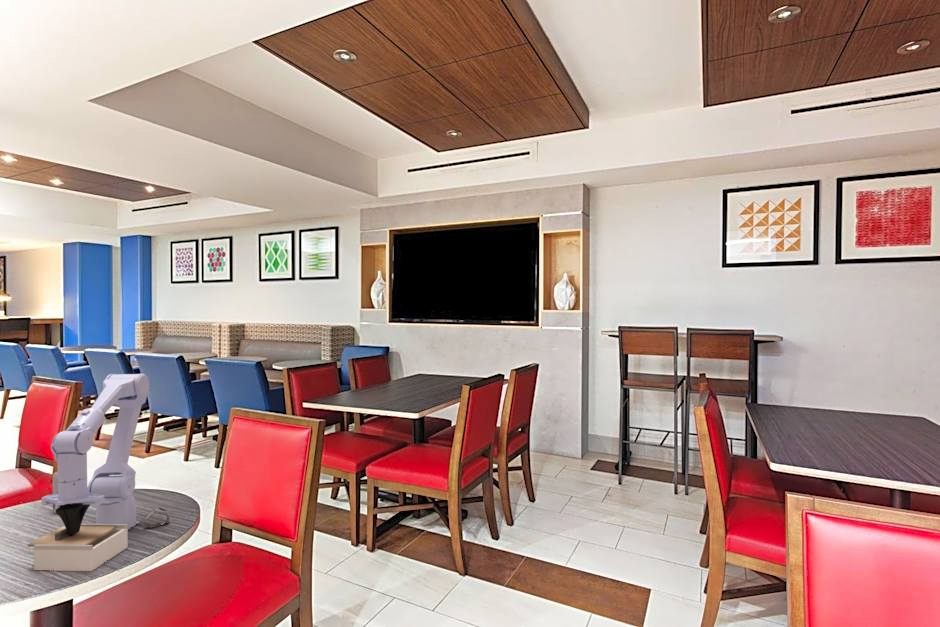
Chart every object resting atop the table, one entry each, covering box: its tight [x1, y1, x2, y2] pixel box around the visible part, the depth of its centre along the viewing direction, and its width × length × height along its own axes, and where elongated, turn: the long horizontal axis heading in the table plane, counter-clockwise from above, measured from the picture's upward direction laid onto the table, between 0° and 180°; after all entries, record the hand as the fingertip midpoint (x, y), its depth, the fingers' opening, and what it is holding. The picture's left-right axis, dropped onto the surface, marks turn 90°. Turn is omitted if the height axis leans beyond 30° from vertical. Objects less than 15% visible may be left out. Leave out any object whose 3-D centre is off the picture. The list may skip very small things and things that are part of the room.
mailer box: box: [33, 523, 129, 572], centre depth 125 cm, size 12×14×6 cm
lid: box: [27, 525, 116, 548], centre depth 125 cm, size 10×14×2 cm
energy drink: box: [52, 471, 60, 515], centre depth 155 cm, size 5×5×12 cm
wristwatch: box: [143, 507, 170, 529], centre depth 144 cm, size 4×6×5 cm, turn 133°
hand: (73, 533), depth 125 cm, fingers closed
